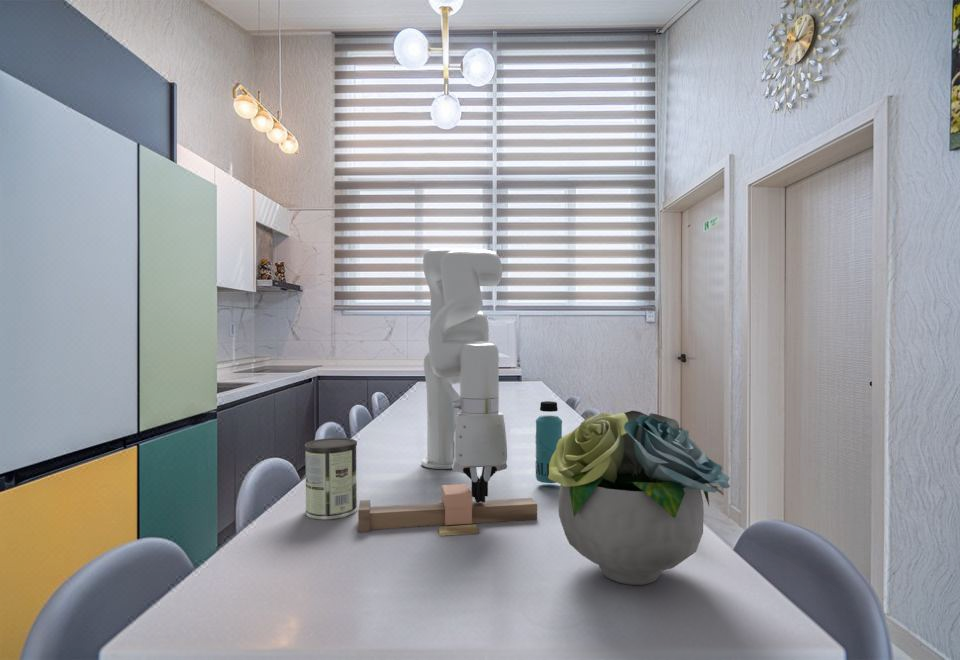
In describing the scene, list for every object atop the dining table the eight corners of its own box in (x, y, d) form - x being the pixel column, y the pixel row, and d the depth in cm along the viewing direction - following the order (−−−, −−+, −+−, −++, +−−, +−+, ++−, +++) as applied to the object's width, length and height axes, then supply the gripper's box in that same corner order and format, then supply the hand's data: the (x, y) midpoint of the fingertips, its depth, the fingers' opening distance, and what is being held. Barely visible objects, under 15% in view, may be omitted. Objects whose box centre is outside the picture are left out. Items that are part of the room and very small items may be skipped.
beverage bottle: (562, 482, 135) (562, 399, 135) (563, 490, 128) (563, 403, 128) (535, 482, 136) (535, 399, 136) (535, 489, 129) (534, 403, 129)
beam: (360, 513, 113) (360, 493, 113) (525, 504, 118) (525, 485, 118) (357, 541, 98) (357, 518, 98) (545, 529, 103) (545, 507, 103)
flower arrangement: (659, 537, 99) (659, 399, 99) (758, 604, 75) (757, 421, 75) (525, 549, 94) (524, 403, 94) (584, 625, 70) (583, 429, 70)
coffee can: (328, 501, 121) (327, 436, 121) (367, 507, 117) (367, 439, 117) (293, 515, 112) (293, 444, 112) (334, 523, 107) (334, 449, 107)
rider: (441, 513, 111) (441, 485, 111) (466, 512, 112) (466, 483, 112) (445, 525, 105) (445, 494, 105) (471, 523, 105) (471, 493, 105)
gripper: (443, 410, 104) (443, 508, 104) (521, 407, 107) (521, 504, 107) (439, 404, 111) (439, 497, 111) (512, 402, 114) (512, 493, 114)
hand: (479, 500), depth 109 cm, fingers closed
